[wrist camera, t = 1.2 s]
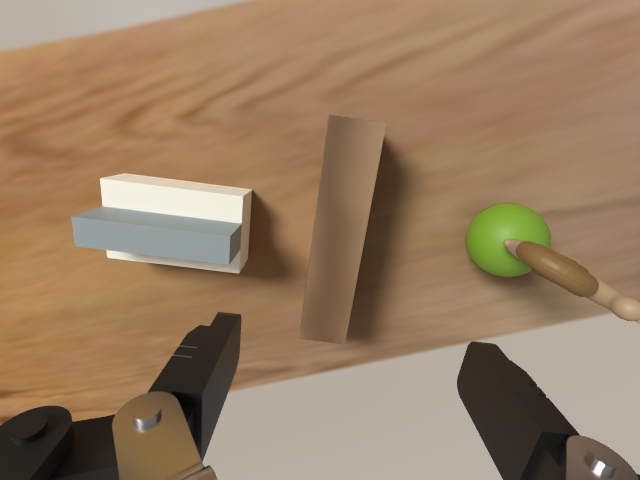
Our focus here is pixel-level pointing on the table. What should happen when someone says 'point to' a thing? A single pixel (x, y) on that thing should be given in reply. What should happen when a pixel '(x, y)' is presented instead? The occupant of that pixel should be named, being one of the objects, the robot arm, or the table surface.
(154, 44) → the table surface
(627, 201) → the table surface
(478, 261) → the snail figurine
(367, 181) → the walnut bar
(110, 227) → the white grey stepped block
